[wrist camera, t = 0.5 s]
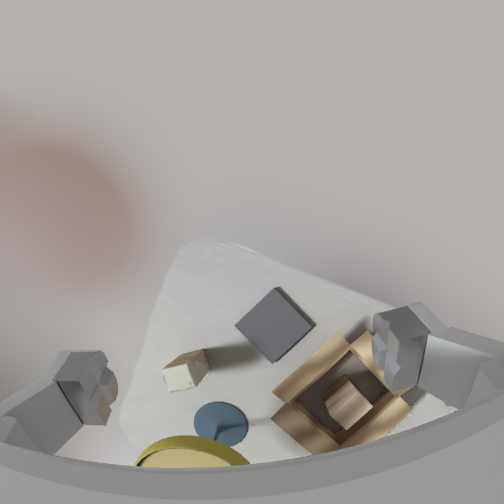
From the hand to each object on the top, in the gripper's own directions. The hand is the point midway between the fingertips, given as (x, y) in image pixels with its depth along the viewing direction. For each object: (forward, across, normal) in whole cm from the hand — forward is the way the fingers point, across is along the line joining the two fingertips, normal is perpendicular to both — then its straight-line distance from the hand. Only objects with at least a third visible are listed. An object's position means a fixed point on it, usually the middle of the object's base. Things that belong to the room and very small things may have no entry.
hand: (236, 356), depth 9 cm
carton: (+36, +13, -41) cm, 56 cm away
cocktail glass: (+35, -11, -45) cm, 58 cm away
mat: (+43, +2, -27) cm, 50 cm away
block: (+36, +13, -41) cm, 56 cm away
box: (+41, -14, -32) cm, 54 cm away
